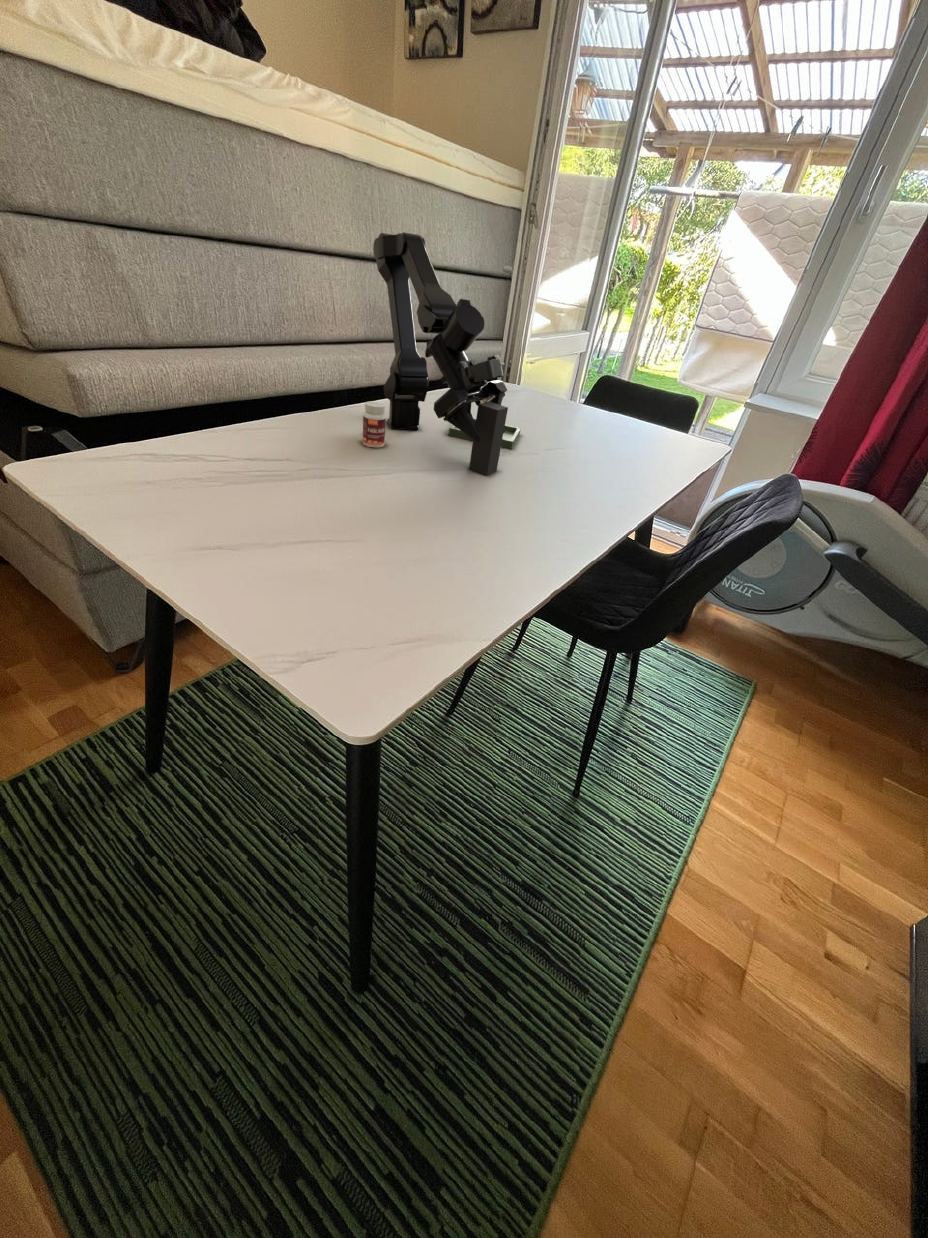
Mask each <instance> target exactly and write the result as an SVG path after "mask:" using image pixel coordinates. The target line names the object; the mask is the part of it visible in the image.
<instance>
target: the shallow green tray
mask: <svg viewBox="0 0 928 1238" xmlns="http://www.w3.org/2000/svg"><path fill="white" fill-rule="evenodd" d="M473 419H474V421H475V423H476V417H475V418H474V417H473ZM521 431H522V428H521V427H517V426H513V425H509V424H505V432H504V433H503V438H502V444H501V448H503V449H508V450H513V447H514V446H515V444H516V442H517V440H518V439H519V437H520V435H521ZM448 436H449V437H454V438H457V439H463V440H468V441H471V442H473V439H472V438H470V437H469V436H468V435H466V434H465V433H464V432H463V431H461V430H460V429H458V428H457V427H455V426H454V425H452V424H451V426H450V427H449V428H448Z"/></svg>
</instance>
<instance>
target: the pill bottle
mask: <svg viewBox="0 0 928 1238" xmlns="http://www.w3.org/2000/svg"><path fill="white" fill-rule="evenodd" d="M385 407H386V406H385V404H384V403H383V402H379V401H373V400H372V401H371V400H370V401H369V400H368V401H366V402H365V403H364V410H365V411H364V412H363V414H362V444H363V445H364V446H365V447H369V448H375V449H376V448H377V449H378V448H382V447H384V446H385V444H386V443H385V439H386V427H387V426H386V425H387V424H386V423H387V416H386V414H385V411H386V408H385Z"/></svg>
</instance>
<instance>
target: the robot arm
mask: <svg viewBox="0 0 928 1238" xmlns="http://www.w3.org/2000/svg"><path fill="white" fill-rule="evenodd" d="M372 248H373V249H372V251H373V256H374V258H375V263H376V267H377V272H378V273H379V274H380V276H381V277H382V279H383V280H384V283H386V287H387V294H388V304H389V305H388V306H389V311H390V312H389V313H390V322H391V328H392V337H393V338H392V339H393V345H394V353H395V354H394V357H393V360H392V362H391V365H390V367H389V376H388V378H387V379H386V381H385V383H384V385H383V396H384V397H385V398H386V399H387V400H389V411H388V412H389V413H388V414H389V415H388V418H387V419H386V422H387V423H388V425H389V426H390V429H392V430H405V431H406V430H408V431H419V427H418V426H419V425H420V419H421V418H420V417H421V408H420V406H419V403H420V402H422V403H425V401H426V398H427V394H428V390H429V386H430V379H429V374H428V366H427V364H428V363H427V359H426V358H431V357H432V358H433V360H434V362H435V363H436V365H437V367H438V370H439V371H440V373H441V375H442V377H440V379H439V380H440V382H441V385H444V384H447V386H448V388H449V389H448V390H446V392H444V393H443V394H442V395H441V396H440V397H439V398H438V399H436V400H435V402H434V403H433V411H434V413H435V415H436V417H437V419H442V418H443V419H442V420H443V421H444V422H447V423H449V424H450V425H451V426H452V425H454V426H455V427H457V428H458V429H460V430H461V431H463V432H464V433H465V434H466V435H468V436H469V437H470V438H472V439H473V440H474V441H476V442H480V441H481V440H482V439H481V436H480V433H479V430H478V428H477V426H476V423H475V421H474V419H473V418H474V417H473V415H472V404H473V403H475V406H477V407H478V404H481V403H485V402H492V403H495V404H499V405H502V403H503V399H504V398H505V396H506V392H507V391H508V388H507V386H506V384H505V383H504V381H503V380H498V379H496V378H503V377H504V370H505V368H506V363H505V362H504V361H503V358H501V357H500V355H499V354H493V355H492V356H488V357H487V360H485V361H482V362H478V363H477V362H476V361H475V360H474V359H470V360H469V359H468V357H467V355H466V353H465V352H466V351H468V350H469V348H470V347H471V346H472V345H473V343H474V342H475V341H476V340H477V339H478V337H479V336H480V334H481V333H482V332H483V331H484V329H485V319H484V316H483V315H482V313H481V312H480V311H479V310H478V309H477V308H476V307H475V306H473V305H472V303H471V300H470V299H468V298H460V299H459V300H458V302H457V303H456V301H455V300H454V298H453V297H452V295H451V294H450V293H448V292H447V291H446V290H444V289H443V288H442V286H441V284H440V282H439V280H438V277H437V274H436V272H435V269H434V267H433V264H432V262H431V260H430V257H429V254H428V251H427V248H426V241H425V238H424V237H423V236H422V235H420V234H417V233H411V232H399V233H397V234H392V233H391V234H390V233H385V232H381V233H379V234H378V237H376V238H374V241H373V247H372ZM410 283H411V284H412V287H413V289H414V291H415V294H416V297H417V300H418V306H417V309H416V316H417V323H418V324H419V327H420V329H421V331H422V332H423V333H424V334H431V335H432V334H433V335H435V336H434V337H433V339H432V340H429V341H426V342H425V344H426V347H425V351H424V356H420V353H418V350H417V343H416V332H415V325H414V315H413V305H412V299H411V289H410ZM492 379H496V380H492ZM488 380H491V381H488ZM504 432H505V427H504Z"/></svg>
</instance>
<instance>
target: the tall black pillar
mask: <svg viewBox="0 0 928 1238" xmlns="http://www.w3.org/2000/svg"><path fill="white" fill-rule="evenodd" d="M508 411H509V407H508V406H505V405H502V404H501V405H499V404H495V403H492V402H485V403H481V404H478V406H477V412H476V417H475V419H476V426H477V428H478V430H479V433H480V436H481V439H482V440H481V441H480V442H476V441H474V440H473V441H472V446H471V451H470V460H469V466H468V469H469V470H471V471H474V472H476V473H479V474H481V475H484V476H489V475H491V474H495V473H496V472H497V471H498V466H499V460H500V454H501V450H502V449H501V448H502V447H501V444H502V438H503V433H504V427H505V425H506V423H507V422H506V421H507V416H508Z"/></svg>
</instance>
